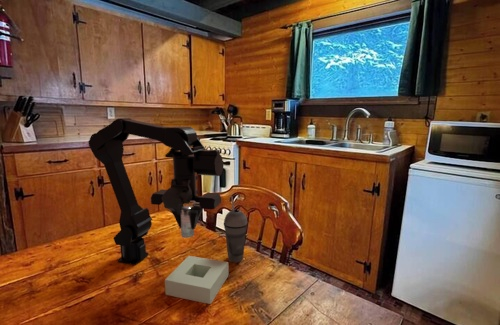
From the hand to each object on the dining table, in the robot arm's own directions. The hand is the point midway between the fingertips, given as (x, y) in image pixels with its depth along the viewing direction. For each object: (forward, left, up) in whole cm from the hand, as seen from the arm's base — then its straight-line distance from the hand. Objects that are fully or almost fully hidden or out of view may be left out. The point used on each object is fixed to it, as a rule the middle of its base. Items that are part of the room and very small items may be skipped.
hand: (187, 228), depth 77 cm
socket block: (+6, -6, -12) cm, 15 cm away
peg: (0, 0, -2) cm, 2 cm away
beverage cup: (+11, +9, -13) cm, 19 cm away
